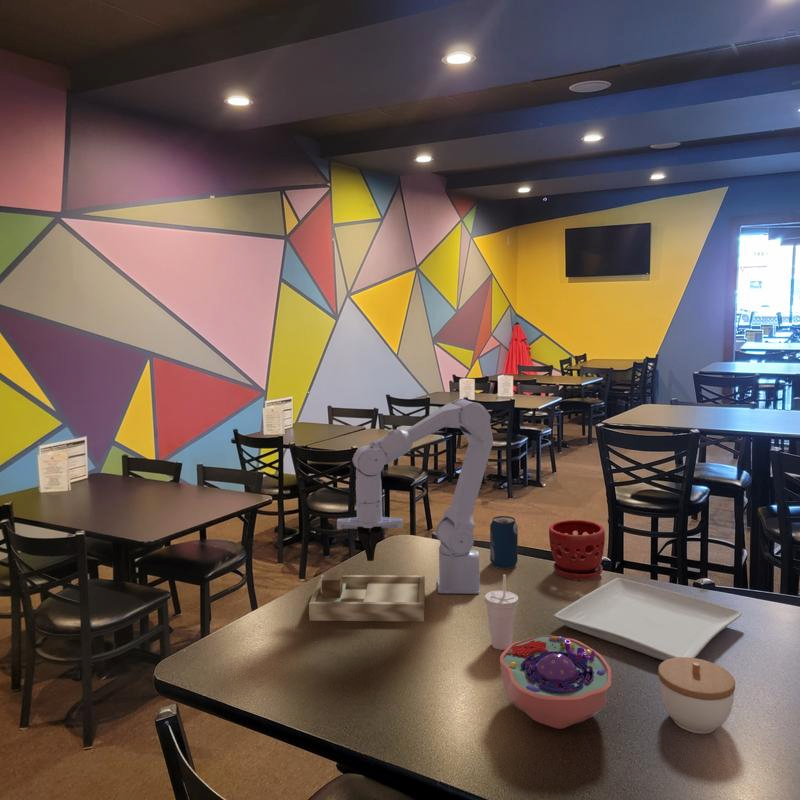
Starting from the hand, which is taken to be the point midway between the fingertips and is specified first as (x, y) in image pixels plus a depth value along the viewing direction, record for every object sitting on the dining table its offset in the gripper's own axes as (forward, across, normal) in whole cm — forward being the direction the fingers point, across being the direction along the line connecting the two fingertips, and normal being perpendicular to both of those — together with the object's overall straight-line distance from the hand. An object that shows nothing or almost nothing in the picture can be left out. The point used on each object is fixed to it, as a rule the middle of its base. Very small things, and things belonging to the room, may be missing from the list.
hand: (370, 559), depth 149 cm
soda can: (+10, +32, +21) cm, 39 cm away
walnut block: (+6, -8, -4) cm, 11 cm away
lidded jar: (+10, +54, -46) cm, 71 cm away
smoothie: (+9, +27, -22) cm, 36 cm away
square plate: (+10, +57, -14) cm, 59 cm away
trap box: (+9, 0, -4) cm, 10 cm away
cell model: (+9, +33, -44) cm, 56 cm away
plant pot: (+10, +49, +15) cm, 52 cm away
